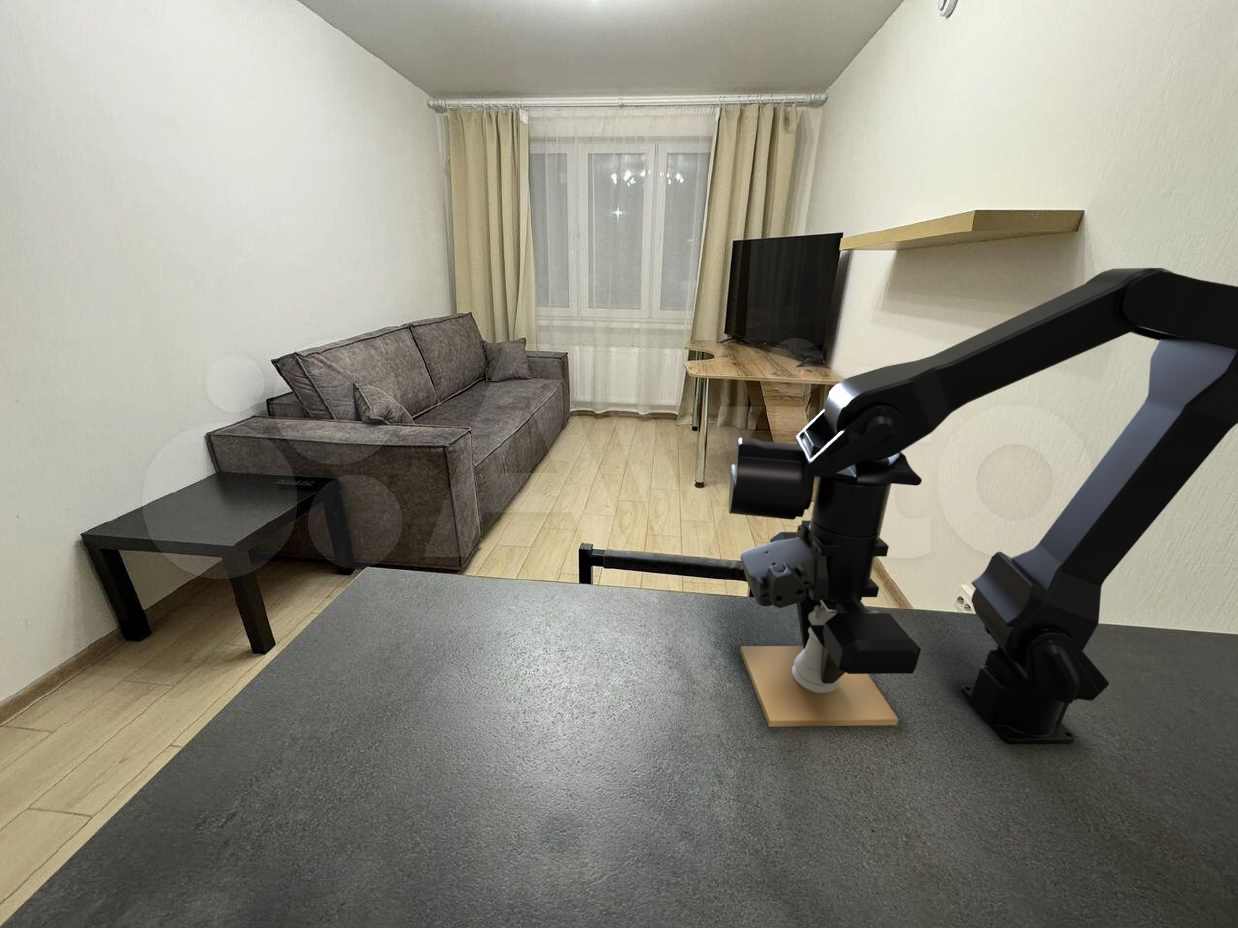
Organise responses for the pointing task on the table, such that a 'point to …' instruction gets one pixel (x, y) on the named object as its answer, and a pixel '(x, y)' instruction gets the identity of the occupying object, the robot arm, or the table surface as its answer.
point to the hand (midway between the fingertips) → (817, 664)
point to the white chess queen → (813, 658)
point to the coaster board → (811, 693)
